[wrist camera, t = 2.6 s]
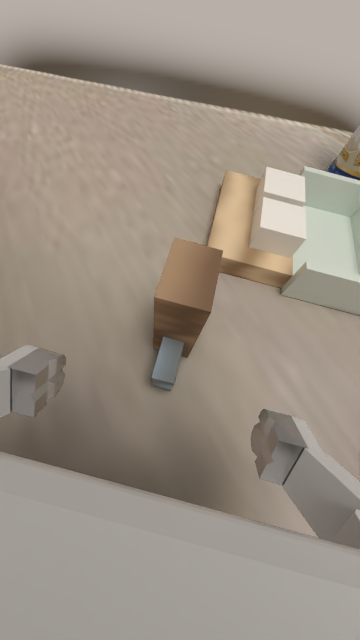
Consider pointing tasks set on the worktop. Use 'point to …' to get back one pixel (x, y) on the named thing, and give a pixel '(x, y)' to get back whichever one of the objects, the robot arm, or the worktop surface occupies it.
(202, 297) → the stacked block structure
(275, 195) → the tile
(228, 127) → the worktop surface
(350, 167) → the beverage bottle
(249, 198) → the board
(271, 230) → the tile
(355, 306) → the tray
